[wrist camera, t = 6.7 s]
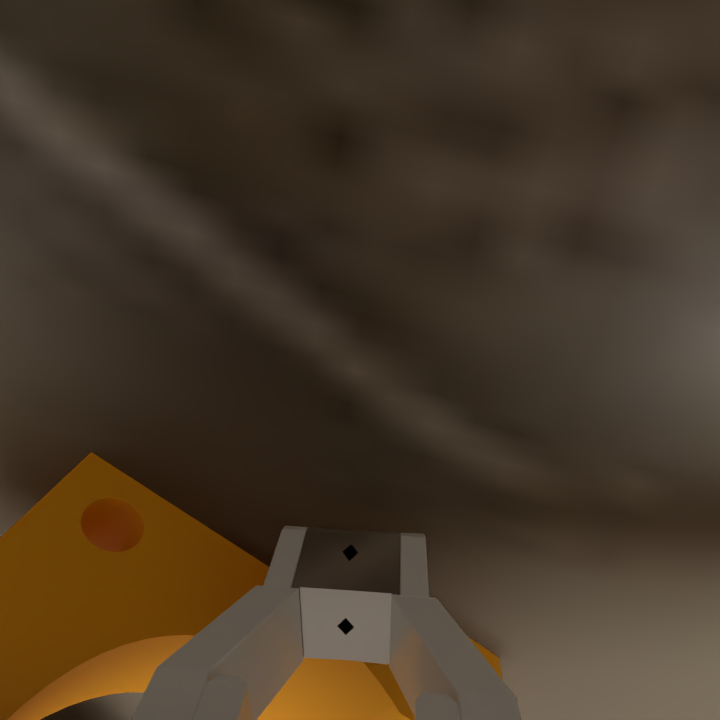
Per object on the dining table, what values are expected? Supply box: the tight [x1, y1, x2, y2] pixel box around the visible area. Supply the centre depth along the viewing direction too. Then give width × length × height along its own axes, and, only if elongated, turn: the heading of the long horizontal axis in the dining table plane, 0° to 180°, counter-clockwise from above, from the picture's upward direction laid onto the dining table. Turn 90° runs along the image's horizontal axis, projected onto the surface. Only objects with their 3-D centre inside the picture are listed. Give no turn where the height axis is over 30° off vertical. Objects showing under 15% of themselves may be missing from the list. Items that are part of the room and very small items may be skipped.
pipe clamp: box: [0, 452, 503, 720], centre depth 10 cm, size 12×4×6 cm, turn 51°
